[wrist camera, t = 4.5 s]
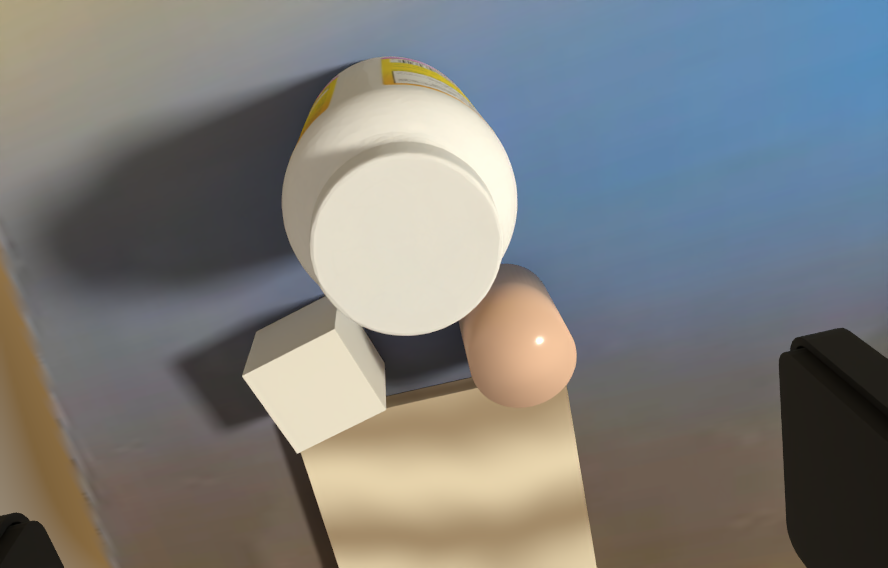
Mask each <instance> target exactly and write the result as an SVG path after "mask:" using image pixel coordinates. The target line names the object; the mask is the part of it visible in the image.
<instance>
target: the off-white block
mask: <svg viewBox="0 0 888 568" xmlns="http://www.w3.org/2000/svg"><path fill="white" fill-rule="evenodd" d="M242 377H243V378H244V380H245V381H246V382H247V384H248V385H249V387H250V388H251V390H252V391H253V392H254V394H255V395H256V397H257V398H258V399H259V401H260V402H261V404H262V405H263V406H264V408H265V409H266V411H267V412H268V413H269V415H270V416H271V418H272V419H273V420H274V422H275V423H276V425H277V426H278V427H279V429H280V430H281V432H282V433H283V434H284V436H285V437H286V439H287V440H288V441H289V443H290V444H291V446H292V447H293V448H294V450H295V451H296V453H297V454H298V453H300V452H302V451H304V450H306V449H308V448H310V447H312V446H314V445H316V444H318V443H320V442H322V441H324V440H326V439H328V438H330V437H332V436H334V435H336V434H338V433H340V432H342V431H344V430H346V429H349V428H351V427H353V426H355V425H357V424H359V423H361V422H363V421H365V420H367V419H369V418H371V417H373V416H375V415H377V414H379V413H381V412H383V411H385V410H386V387H385V363H384V361H383V360H382V358H381V357H380V355H379V353H378V352H377V350H376V348H375V347H374V345H373V344H372V342H371V340H370V339H369V337H368V336H367V334H366V332H365V331H364V329H363V327H362V326H361V325H359V324H357V323H355V322H353V321H352V320H350V319H349V318H348V317H346V316H345V315H344V314H342V313H341V312H340V311H339V310H338V309H337V308H336V307H335V306H334V305H333V304H332V303H331V302H330V301H329V300H328V298H327V297H326V296H325V297H323V298H321V299H319V300H317V301H315V302H313V303H311V304H309V305H307V306H305V307H303V308H301V309H299V310H297V311H295V312H294V313H292V314H290V315H288V316H286V317H284V318H282V319H280V320H278V321H276V322H274V323H272V324H270V325H268V326H266V327H264V328H262V329H260V330H258V331H256V334H255V337H254V340H253V343H252V347H251V350H250V353H249V356H248V359H247V362H246V365H245V368H244V371H243V374H242Z"/></svg>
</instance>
